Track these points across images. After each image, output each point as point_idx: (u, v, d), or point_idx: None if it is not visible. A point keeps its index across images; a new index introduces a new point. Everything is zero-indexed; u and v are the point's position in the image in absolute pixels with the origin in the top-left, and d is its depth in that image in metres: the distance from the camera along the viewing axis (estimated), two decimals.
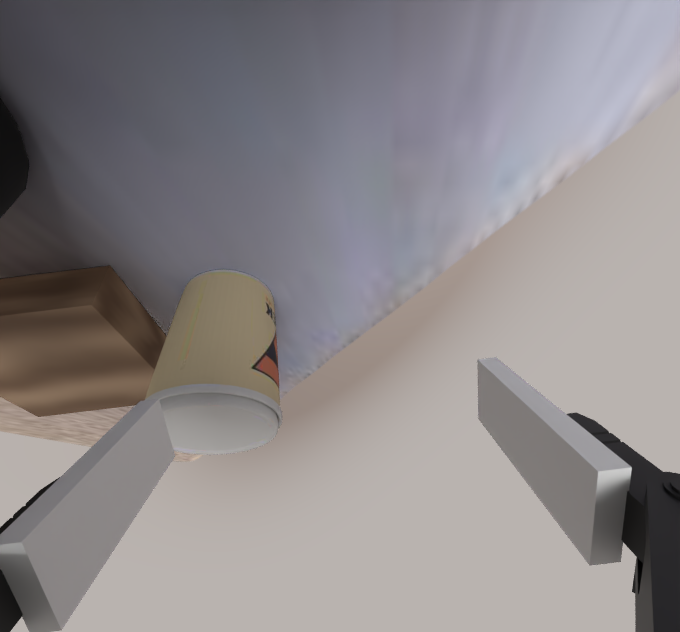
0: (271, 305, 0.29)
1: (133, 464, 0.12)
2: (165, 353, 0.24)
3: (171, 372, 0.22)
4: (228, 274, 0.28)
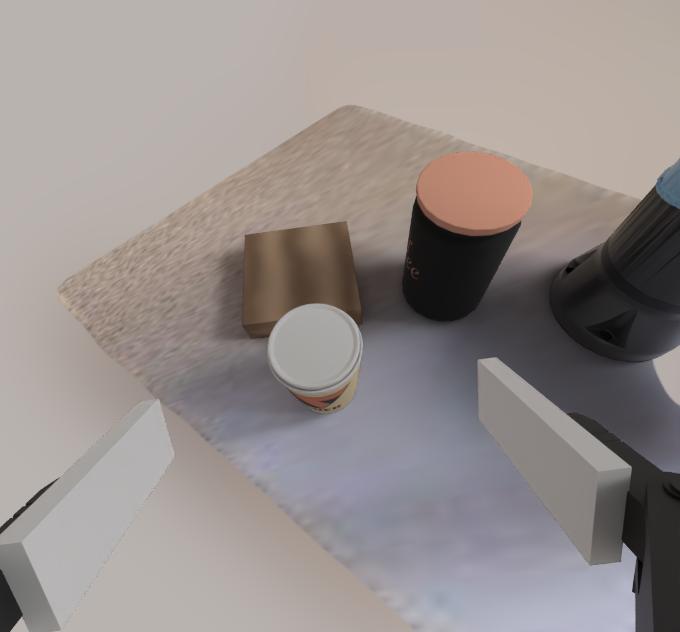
0: (334, 409, 0.40)
1: (133, 464, 0.12)
2: None
3: None
4: None
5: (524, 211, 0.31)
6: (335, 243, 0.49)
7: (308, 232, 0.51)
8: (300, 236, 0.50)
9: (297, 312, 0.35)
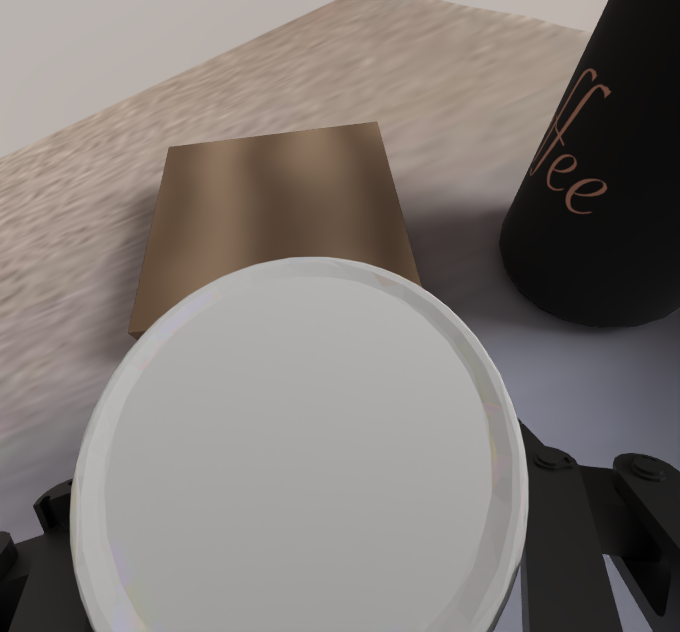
0: None
1: None
2: None
3: None
4: None
5: None
6: (354, 160, 0.23)
7: (298, 141, 0.24)
8: (281, 147, 0.24)
9: (238, 290, 0.09)
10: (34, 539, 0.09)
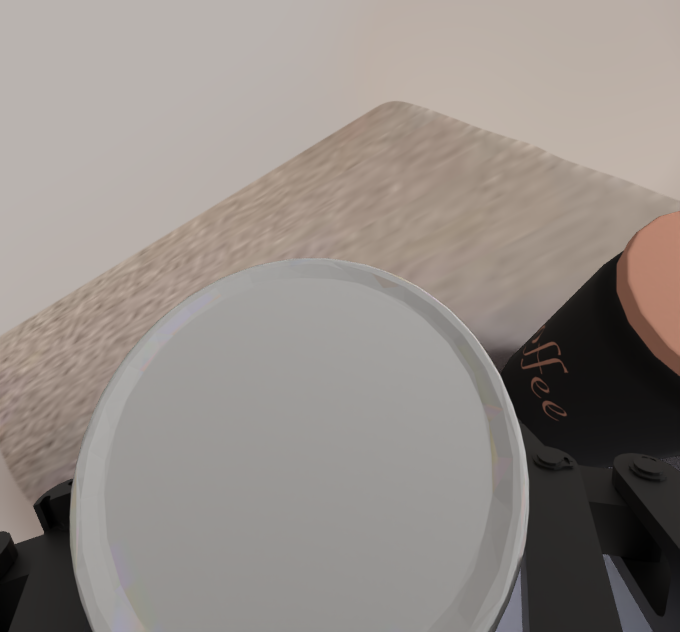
0: None
1: None
2: None
3: None
4: None
5: None
6: None
7: None
8: None
9: (239, 291, 0.09)
10: (34, 539, 0.09)
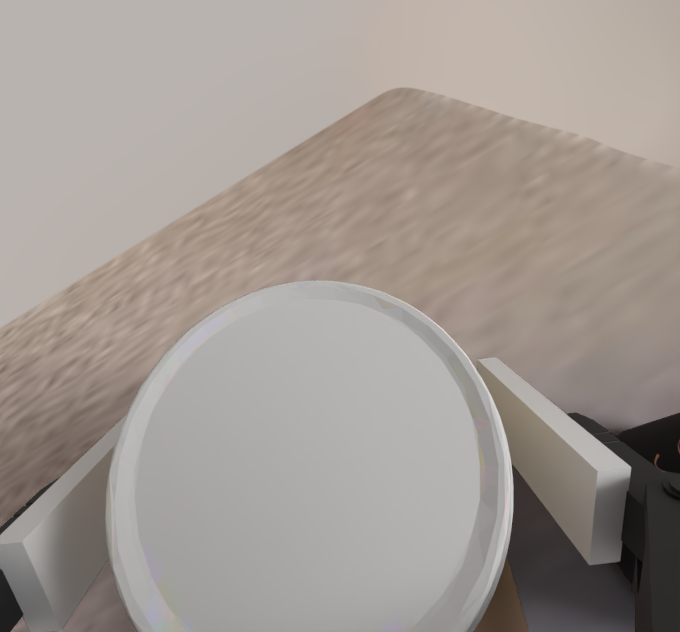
0: None
1: None
2: None
3: None
4: None
5: None
6: None
7: None
8: None
9: (251, 311, 0.10)
10: None
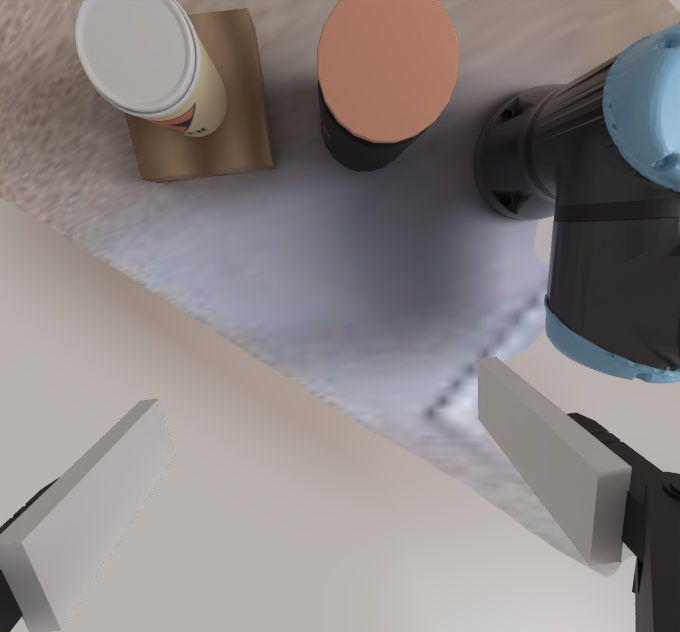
0: (200, 133, 0.38)
1: (133, 464, 0.12)
2: None
3: (196, 35, 0.29)
4: (226, 104, 0.38)
5: (436, 114, 0.27)
6: (234, 54, 0.37)
7: (195, 28, 0.37)
8: None
9: None
10: None
